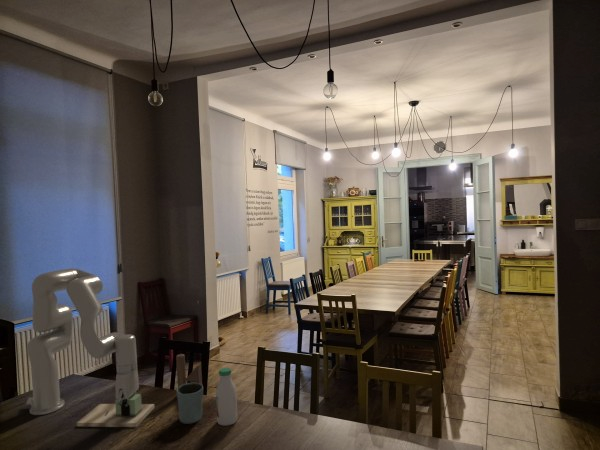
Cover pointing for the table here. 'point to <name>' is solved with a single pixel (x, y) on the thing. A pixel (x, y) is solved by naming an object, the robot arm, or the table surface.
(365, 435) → the table surface
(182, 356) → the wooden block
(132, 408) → the block
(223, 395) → the milk bottle
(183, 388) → the blue cup
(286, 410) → the table surface
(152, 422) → the table surface
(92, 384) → the table surface
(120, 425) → the birch board
